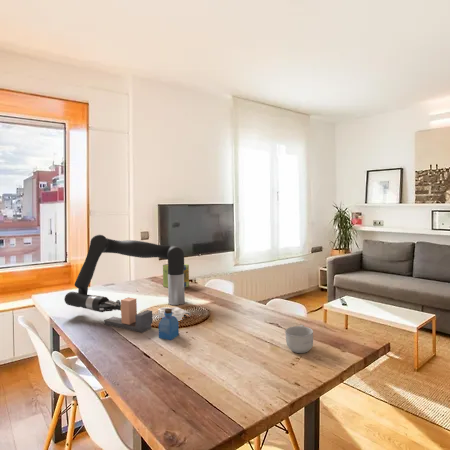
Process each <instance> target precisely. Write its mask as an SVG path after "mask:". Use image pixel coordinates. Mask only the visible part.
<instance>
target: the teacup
mask: <svg viewBox="0 0 450 450" xmlns="http://www.w3.org/2000/svg"><path fill="white" fill-rule="evenodd" d="M284 331H285V332H284V333H285V343H286V347H288V349H289V350H291V351H292V352H293V353H296V354H297V353H298V354H306V353H307V352H309V351H310V350H311V349H312V348H313V346H314V330H313V329H312V328H310V327H308V326H305V325H304V324H300V325H295V326H288V328H286V329H285V330H284Z"/></svg>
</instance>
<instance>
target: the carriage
mask: <svg viewBox="0 0 450 450" xmlns="http://www.w3.org/2000/svg"><path fill="white" fill-rule="evenodd" d="M120 302H121V308H120V310H119V311H120V313H121V317H120V318H121V321H122V323H124V324H129V325H130V324H132V323H134V322H136V318H135V315H137V314H138V310H137V309H138V307H137V298H135V297H124V298H123V299H120Z"/></svg>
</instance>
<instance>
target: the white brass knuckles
mask: <svg viewBox="0 0 450 450" xmlns="http://www.w3.org/2000/svg"><path fill="white" fill-rule="evenodd" d="M165 309H172V316H175V317H176V319H177V320H178V321H180V320H182V321H183V319H182V317H185V316H184V314H188V315H190V316H191V312H189V311H187V310H186V309H182V308H180V307H178V306H173V307H166V306H165V307H159V308H158V309H157V317H159V318H160V317H161V318H163V317H165V315H164V312H165ZM158 314H159V315H158ZM161 318H160V319H161Z"/></svg>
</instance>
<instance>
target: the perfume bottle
mask: <svg viewBox="0 0 450 450" xmlns="http://www.w3.org/2000/svg"><path fill="white" fill-rule="evenodd" d="M164 315H165V317H163V318H162V319H161V318H160V321H159V322H158V338H159V339H163V340H168V341H172V340H173V339H176V338H177V337H178V336H179V334H180V333H179V331H180V330H179V329H180V328H179V327H180V326H179V323H180V322H178V320H177V319H176V317H175V316H172V309H165V312H164Z"/></svg>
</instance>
